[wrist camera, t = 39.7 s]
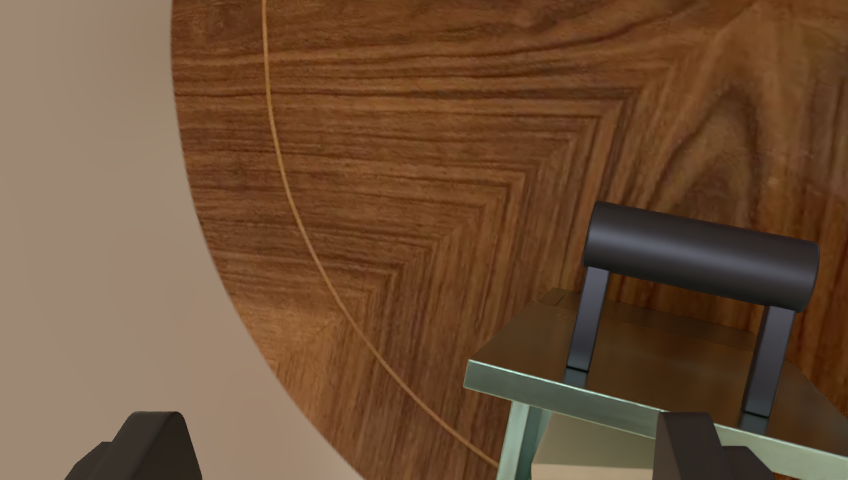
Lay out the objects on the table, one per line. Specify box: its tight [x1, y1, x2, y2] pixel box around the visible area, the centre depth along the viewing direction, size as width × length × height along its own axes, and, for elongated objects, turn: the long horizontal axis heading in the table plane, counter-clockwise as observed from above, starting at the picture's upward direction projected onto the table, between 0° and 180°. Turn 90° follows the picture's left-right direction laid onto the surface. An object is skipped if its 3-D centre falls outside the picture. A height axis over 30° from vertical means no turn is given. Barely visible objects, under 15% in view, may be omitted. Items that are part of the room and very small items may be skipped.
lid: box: [463, 201, 848, 480], centre depth 25 cm, size 13×11×6 cm
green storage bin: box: [496, 288, 757, 480], centre depth 36 cm, size 12×11×9 cm
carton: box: [531, 412, 655, 480], centre depth 31 cm, size 5×7×18 cm
